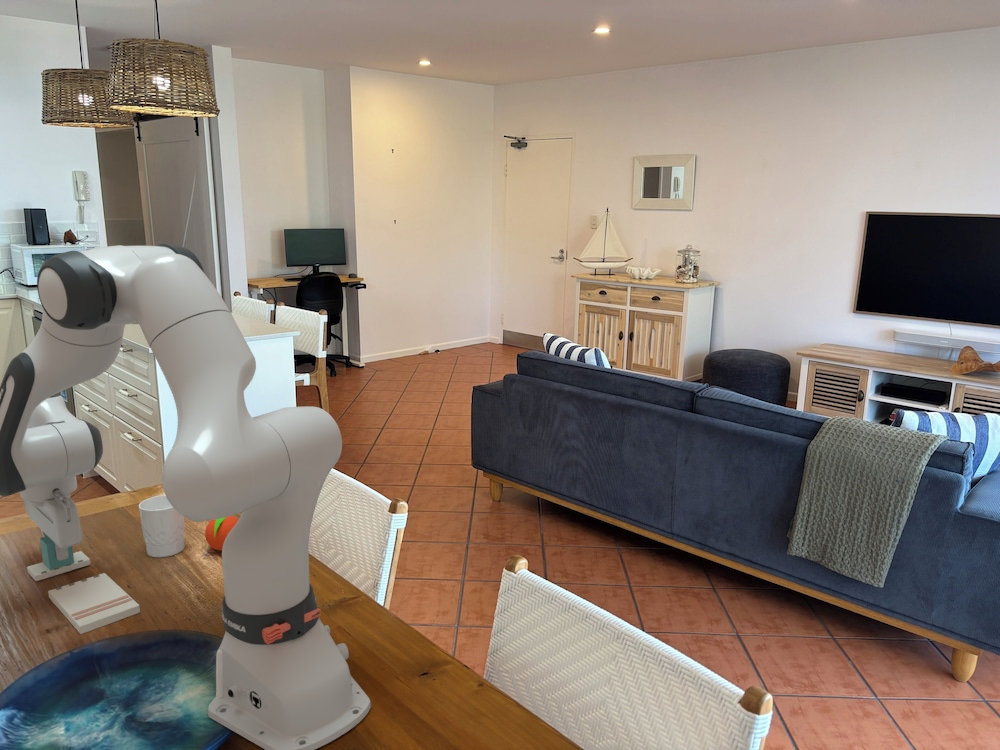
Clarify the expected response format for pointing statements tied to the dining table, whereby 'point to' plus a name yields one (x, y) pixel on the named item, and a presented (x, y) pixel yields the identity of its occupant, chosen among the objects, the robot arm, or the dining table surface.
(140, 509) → the white cup
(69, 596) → the ticket
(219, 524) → the clementine
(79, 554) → the stub
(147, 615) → the dining table surface
